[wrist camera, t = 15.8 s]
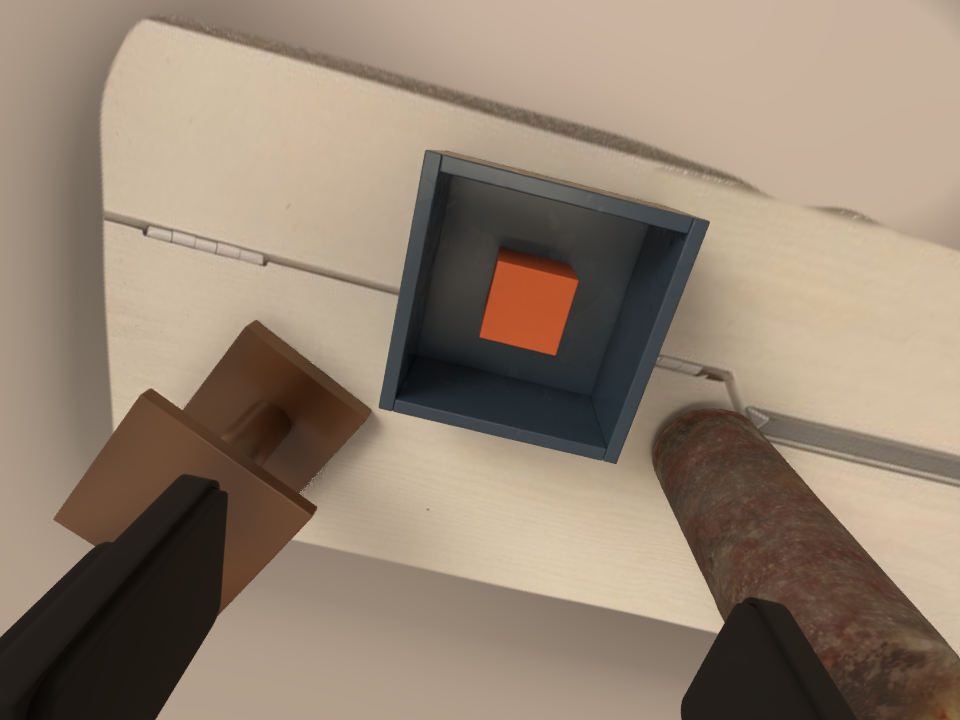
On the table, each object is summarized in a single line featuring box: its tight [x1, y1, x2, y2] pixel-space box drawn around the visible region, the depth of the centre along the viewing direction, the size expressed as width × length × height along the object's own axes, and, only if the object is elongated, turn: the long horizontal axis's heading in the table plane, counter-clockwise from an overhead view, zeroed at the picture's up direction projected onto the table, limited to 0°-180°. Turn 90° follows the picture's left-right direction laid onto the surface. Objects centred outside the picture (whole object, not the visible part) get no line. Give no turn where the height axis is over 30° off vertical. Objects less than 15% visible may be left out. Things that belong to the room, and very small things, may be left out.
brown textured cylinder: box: [652, 409, 960, 720], centre depth 28 cm, size 8×7×20 cm
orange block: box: [479, 247, 579, 356], centre depth 31 cm, size 4×4×4 cm
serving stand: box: [54, 320, 371, 616], centre depth 33 cm, size 10×10×12 cm
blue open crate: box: [379, 150, 710, 464], centre depth 30 cm, size 14×14×8 cm
